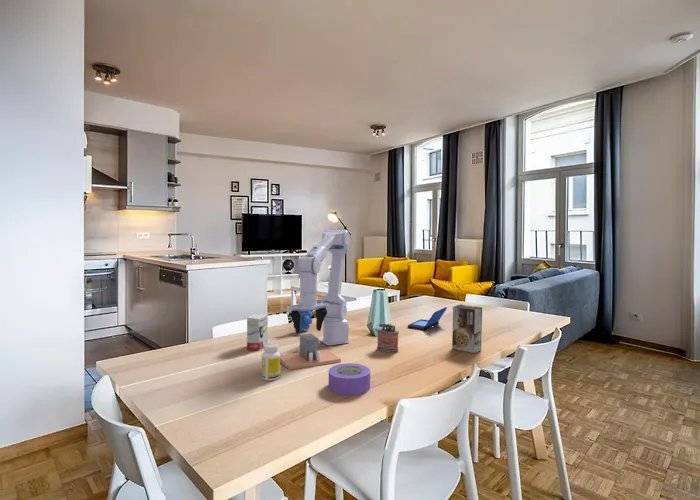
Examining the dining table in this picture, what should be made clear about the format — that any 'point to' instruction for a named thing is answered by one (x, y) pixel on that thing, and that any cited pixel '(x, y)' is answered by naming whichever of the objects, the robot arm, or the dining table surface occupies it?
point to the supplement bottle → (270, 362)
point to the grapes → (304, 320)
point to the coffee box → (467, 328)
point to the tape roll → (349, 379)
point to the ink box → (257, 331)
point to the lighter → (387, 338)
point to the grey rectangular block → (308, 346)
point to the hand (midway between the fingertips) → (308, 331)
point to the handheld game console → (428, 321)
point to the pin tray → (299, 362)
